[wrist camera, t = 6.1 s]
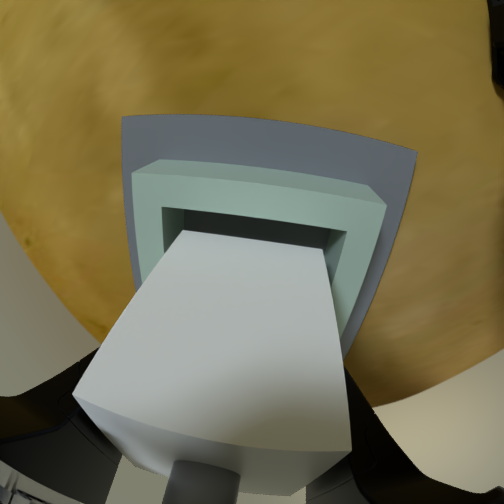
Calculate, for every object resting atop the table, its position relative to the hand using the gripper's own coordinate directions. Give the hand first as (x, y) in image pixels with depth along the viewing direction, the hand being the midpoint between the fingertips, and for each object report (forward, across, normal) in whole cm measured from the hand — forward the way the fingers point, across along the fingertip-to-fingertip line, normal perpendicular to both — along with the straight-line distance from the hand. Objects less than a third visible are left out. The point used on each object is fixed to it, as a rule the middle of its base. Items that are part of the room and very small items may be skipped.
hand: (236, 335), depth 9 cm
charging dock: (+5, 0, 0) cm, 5 cm away
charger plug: (+2, 0, 0) cm, 2 cm away
